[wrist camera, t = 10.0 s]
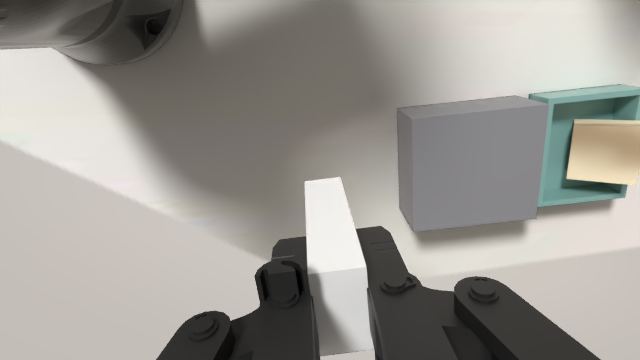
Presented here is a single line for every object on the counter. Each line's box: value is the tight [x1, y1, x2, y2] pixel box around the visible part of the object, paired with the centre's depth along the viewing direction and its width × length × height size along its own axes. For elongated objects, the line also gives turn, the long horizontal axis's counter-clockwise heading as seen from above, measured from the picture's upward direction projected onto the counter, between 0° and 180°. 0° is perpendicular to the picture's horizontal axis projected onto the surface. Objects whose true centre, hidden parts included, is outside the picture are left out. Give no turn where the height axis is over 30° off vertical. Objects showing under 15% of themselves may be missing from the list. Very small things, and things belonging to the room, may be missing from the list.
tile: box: [566, 119, 640, 185], centre depth 40 cm, size 6×6×3 cm
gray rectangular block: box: [397, 96, 549, 232], centre depth 40 cm, size 12×13×6 cm
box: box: [529, 84, 640, 207], centre depth 42 cm, size 12×10×4 cm
